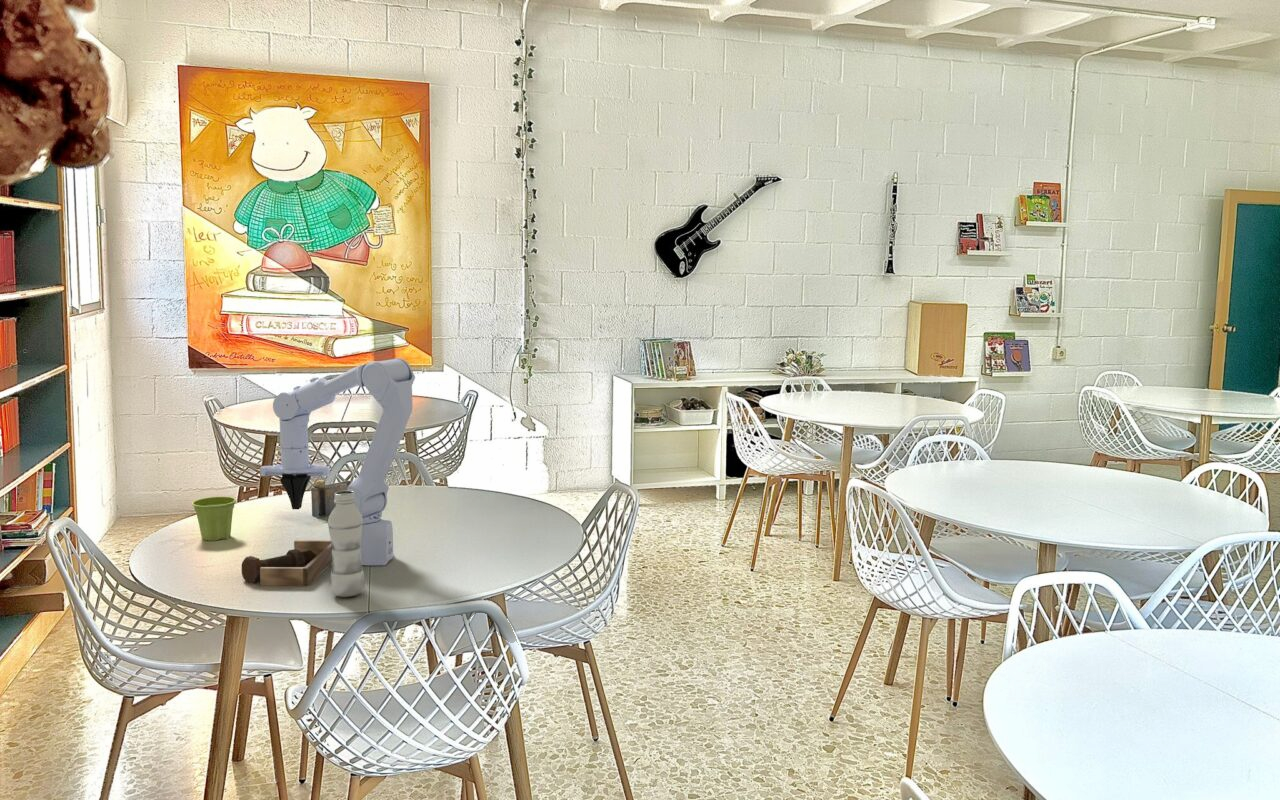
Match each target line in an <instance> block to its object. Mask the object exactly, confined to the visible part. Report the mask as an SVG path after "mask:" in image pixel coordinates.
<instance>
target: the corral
mask: <svg viewBox="0 0 1280 800" xmlns="http://www.w3.org/2000/svg"><path fill="white" fill-rule="evenodd" d="M293 549H295V550H300V551H301V552H303V551H308V550H311V551H313V552H314V553H315V554H316V555H317V556H316V557H315V558H314V559H313V560H312V561H311V562H310V563H308V564H307V565H306V566H305V567H261V568H260V586H261V587H262V586H263V587H264V586H269V587H270V586H271V587H272V586H273V587H274V586H276V587H281V586H282V587H297V586H298V587H299V586H300V587H308V586H310V584H311V583H312V582H313V581H314V580H315V579H316V578H318V576H320V575H321V573H323V572H324V571H325V570H326V569H327V568H328V567H329V566H330V565H332V547H331V539H329V540H327V539H326V540H325V539H322V540H318V539H315V540H313V539H312V540H311V539H310V540H309V539H308V540H306V539H304V540H303V539H302V540H301V539H300V540H298V539H295V540H294V541H293Z"/></svg>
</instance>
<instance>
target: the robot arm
mask: <svg viewBox="0 0 1280 800" xmlns="http://www.w3.org/2000/svg"><path fill="white" fill-rule="evenodd" d="M415 380H416V375H415V373H414V372H413V369H412V367H411V365H410V364H409V362H408V361H407V360H405V359H403V358H401V357H395V358H391V359H387V360H379V361H376V360H375V361H374V360H373V361H369V362H368V363H364V364H363V363H362V364H360V365H359V364H358V366H355V367H353V368H350V369H349V370H347V371H345V372H342V373H341V374H340V375H338V376H335V377H333V378H331V379H329V380H328V379H326V378H325V377H324V378H323V377H321V378H319V376H318V377H311V378H310V379H309V383H306V384H305V385H304V384H303V385H302V386H301V385H298V386H297V385H296V386H295V387H293V390H292V391H288V392H280V393H279V394H278V395H276V396H275V397H274V400H273V403H272V409H273V412H274V414H275V416H276V417H277V418H279V436H280V437H279V443H280V464H281V465H279V464H278V465H263V466H260V469H259V470H260V471H259V472H260V477H267V476H269V477H270V476H271V477H273V476H275V477H277V476H278V477H279V476H280V477H281V479H280V484H281V485H282V487H283V488H284V490H285V492H286V494H287V496H288V499H289V501H290V505H291V509H292V510H300V509H301V508H302V505H303V500H304V495H305V492H306V489H307V486H308V484H309V482H310V480H311V477H312V476H313V477H329V476H331V466H330V465H313V464H310V454H309V453H310V452H309V451H310V450H309V425H308V424H309V422H310V416H311V413H313V412H314V411H317V410H318V409H320V408H323V407H325V406H326V407H327V405H330V404H332V403H333V402H334V401H335V399H336V396H337V395H338V394H341V393H343V392H345V391H348V390H351V389H354V388H355V387H358V386H359V387H361V388H363V387H365V389H366V390H367V391H368V392H369V393H370V394H371V396H372V397H373V398H374V399H375V401H376V402H377V403H378V404H379V405H380V406H381V408H382V414H381V416H380V419H379V420H378V423H377V427H376V429H375V431H374V433H373V435H372V436H373V437H372V439H371V442H370V444H369V448H367V449H368V450H367V452H366V454H365V458H364V460H363V463H362V465H361V469H360V471H359V473H358V475H357V477H356V478H354V479H353V482H352V483H351V484H350V485H349V486H348V488H347V491H354V495H355V502H354V505H355V507H356V508H357V509H358V510H359V512H360V513H361V515H362V518H363V523H362V532H361V546H360V548H361V561H362V566H387V564H388V563H389V562H390V560H391V559H392V558H393V557H394V556H395V553H394V531H393V529H394V528H393V523H392V521H391V520H389V519H388V520H387V519H382V516H383V511H384V510H385V509H386V507H387V504H388V491H389V489H390V487H389V484H387V482H386V479H387V476H388V474H389V471H390V468H391V465H392V463H393V461H394V458H395V455H396V453H397V450H398V448H399V445H400V443H401V441H402V438H403V435H404V432H405V429H406V428H407V424H408V421H409V420H410V418H411V414H412V411H413V407H414V406H413V384H414V382H415Z"/></svg>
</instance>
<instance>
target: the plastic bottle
mask: <svg viewBox="0 0 1280 800" xmlns="http://www.w3.org/2000/svg"><path fill="white" fill-rule="evenodd" d="M354 502H355V495H354V491H339V492H336V493H335V500H334V503H335V504H336V506H335V508H334V509H333V510H332V512H331V514H330V515H328V520H327V526H328V531H329V537H330V540H331V547H332V563H331V572H330V577H329V586H330V587H329V588H330V591H331V593H332V594H333V595H334V596H335V597H339V598H348V597H349V598H350V597H354V596H358V595H360V594H361V593H362V592H363V590H364V589H365V584H366V579H365V573H364V570H363V565H362V561H361V548H360V546H361V532H362V523H363V518H362V515H361V513H360V512H359V510H358V509H357V508H356V507H355V505H354Z"/></svg>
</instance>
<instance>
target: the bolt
mask: <svg viewBox="0 0 1280 800" xmlns="http://www.w3.org/2000/svg"><path fill="white" fill-rule="evenodd" d="M316 556H317V555H316V554H315V553H314V552H313V551H311V550H308V551H303V552H301V551H300V550H295V549H294V548H293V549H290V550H288V551H287V552H286V554H285V555H280V556H275V557H274V556H273V557H269V558H265V559H260V558H259V557H255V556H254V555H253V556H252V555H250V556H245V557H244V558H243V561H242V562H241V575H242V578H243V580H244V581H245V582H246V583H247V582H248V584H250V583H252V585H255V584H259V583H260V568H261V567H305V566H306V565H307V564H308V563H310V562H311V561H312V560H313V559H314V558H315V557H316ZM260 584H261V583H260Z"/></svg>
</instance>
